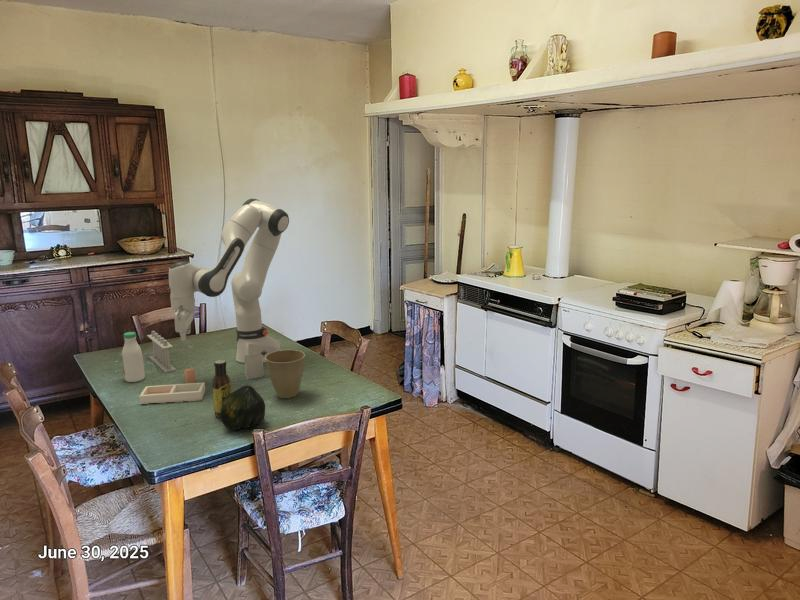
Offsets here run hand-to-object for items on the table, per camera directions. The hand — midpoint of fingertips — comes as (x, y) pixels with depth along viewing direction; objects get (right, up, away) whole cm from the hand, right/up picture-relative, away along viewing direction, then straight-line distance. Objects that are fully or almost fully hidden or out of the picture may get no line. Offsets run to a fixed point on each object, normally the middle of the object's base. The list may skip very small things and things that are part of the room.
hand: (185, 337), depth 242 cm
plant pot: (+42, -22, -9) cm, 48 cm away
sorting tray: (-1, -23, -9) cm, 25 cm away
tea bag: (+25, -18, +11) cm, 32 cm away
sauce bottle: (+22, -26, -25) cm, 43 cm away
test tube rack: (-21, -14, +29) cm, 39 cm away
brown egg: (0, -19, +5) cm, 20 cm away
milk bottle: (-25, -18, +11) cm, 33 cm away
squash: (+32, -28, -34) cm, 54 cm away
